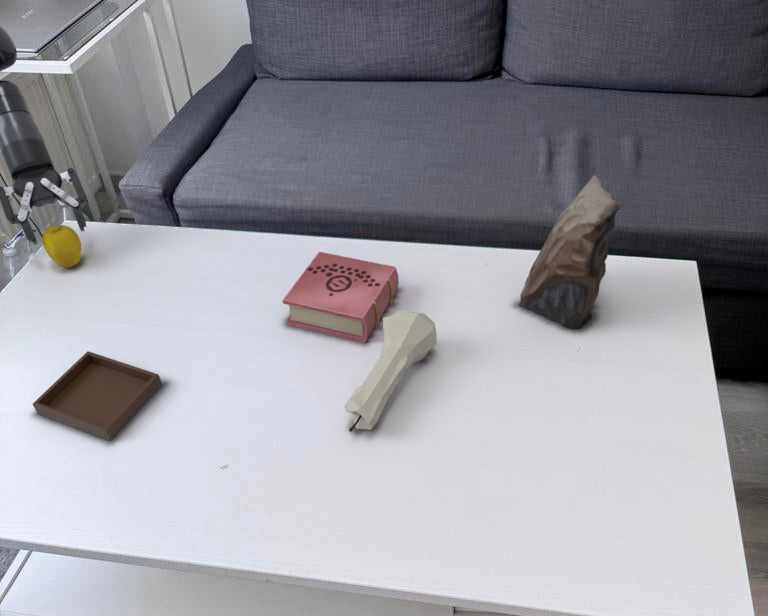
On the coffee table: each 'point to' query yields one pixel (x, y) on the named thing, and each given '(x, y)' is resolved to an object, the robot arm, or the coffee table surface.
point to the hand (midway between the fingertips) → (59, 236)
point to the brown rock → (573, 259)
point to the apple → (62, 245)
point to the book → (341, 296)
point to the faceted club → (391, 364)
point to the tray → (98, 395)
